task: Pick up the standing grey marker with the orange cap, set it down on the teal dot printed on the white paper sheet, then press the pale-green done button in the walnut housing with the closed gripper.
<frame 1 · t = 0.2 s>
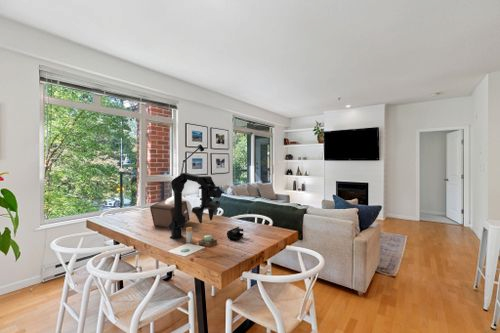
hand: (206, 221, 146), 14 cm above the table, fingers open, 9 cm apart
done button: (207, 238, 147), point 3 cm above the table, slide at 0.0 cm
tissue box: (174, 224, 194), on the table
button housing: (207, 243, 147), on the table
end cap: (235, 239, 157), on the table
paper: (186, 249, 137), on the table
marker: (189, 242, 150), on the table
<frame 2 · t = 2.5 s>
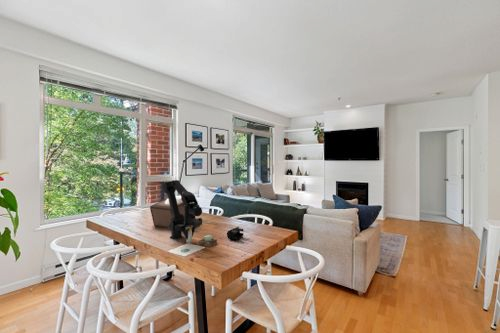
hand: (189, 238, 150), 3 cm above the table, fingers closed on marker, 4 cm apart
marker: (189, 242, 150), on the table, touching gripper
everything else where it was.
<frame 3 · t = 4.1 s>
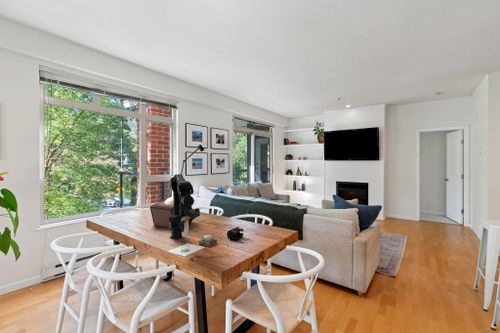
hand: (185, 231, 135), 11 cm above the table, fingers closed on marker, 4 cm apart
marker: (185, 235, 135), point 9 cm above the table, touching gripper
everything else where it was.
when the fingers open (4 cm above the table, at t = 5.7 s): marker stays where it is, resting on paper.
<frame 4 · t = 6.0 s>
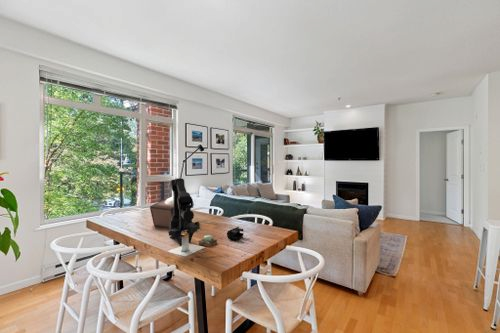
hand: (185, 244, 135), 4 cm above the table, fingers open, 6 cm apart
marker: (185, 250, 135), resting on paper
everything else where it was.
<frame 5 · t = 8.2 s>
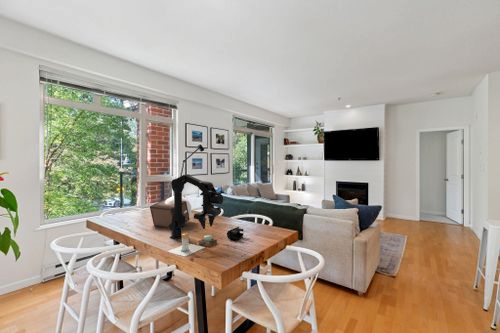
hand: (207, 227, 147), 10 cm above the table, fingers open, 6 cm apart
nothing on the table moved.
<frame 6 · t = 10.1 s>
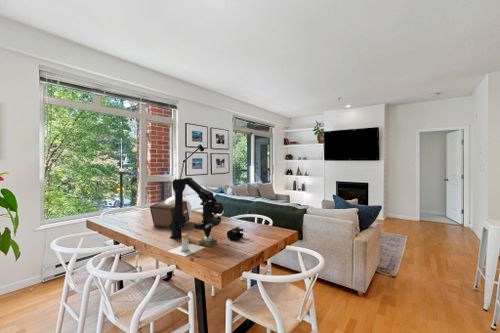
hand: (207, 237, 147), 4 cm above the table, fingers closed, pressing on done button
done button: (207, 239, 147), point 3 cm above the table, slide at -0.7 cm, touching gripper
everything else where it was.
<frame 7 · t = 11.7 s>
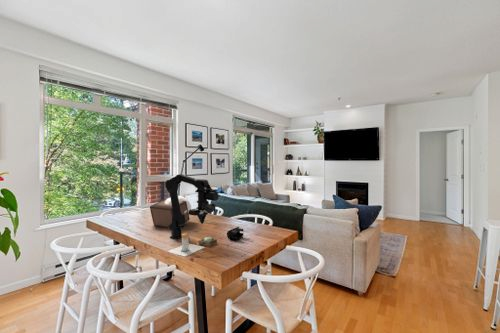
hand: (202, 223, 151), 11 cm above the table, fingers closed
done button: (207, 240, 147), point 2 cm above the table, slide at -1.3 cm
everything else where it was.
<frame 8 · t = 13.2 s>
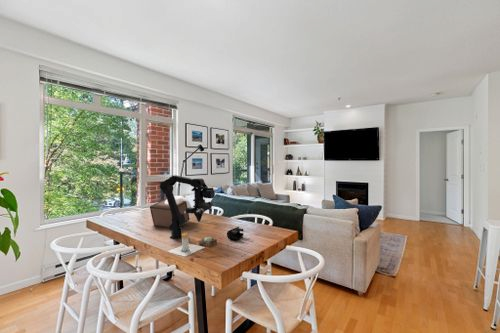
hand: (199, 221, 155), 12 cm above the table, fingers closed
nothing on the table moved.
at the end: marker 0.1 cm from the target spot on the paper, point 0.4 cm above the paper's base; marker tilted 0°; done button slide at -1.3 cm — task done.
